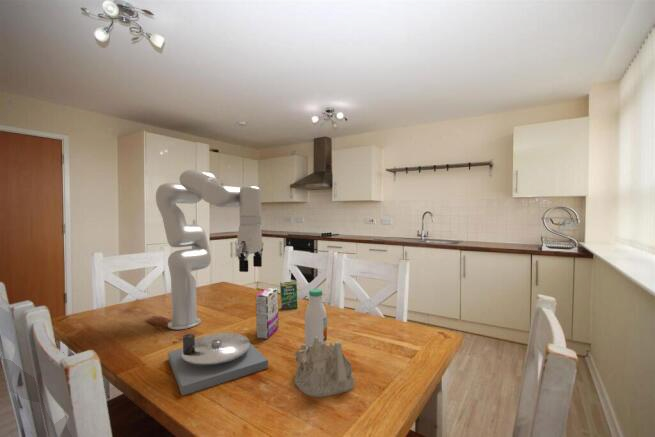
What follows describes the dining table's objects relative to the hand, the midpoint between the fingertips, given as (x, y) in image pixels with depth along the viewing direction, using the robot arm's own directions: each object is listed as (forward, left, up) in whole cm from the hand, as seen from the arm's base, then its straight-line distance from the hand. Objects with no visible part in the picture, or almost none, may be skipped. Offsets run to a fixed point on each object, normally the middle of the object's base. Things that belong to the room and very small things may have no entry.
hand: (250, 269), depth 109 cm
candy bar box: (-6, +9, -27) cm, 29 cm away
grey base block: (+7, -14, -27) cm, 31 cm away
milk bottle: (+15, +18, -27) cm, 36 cm away
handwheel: (+7, -14, -23) cm, 28 cm away
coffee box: (-28, +30, -27) cm, 49 cm away
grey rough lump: (+34, +8, -28) cm, 45 cm away
